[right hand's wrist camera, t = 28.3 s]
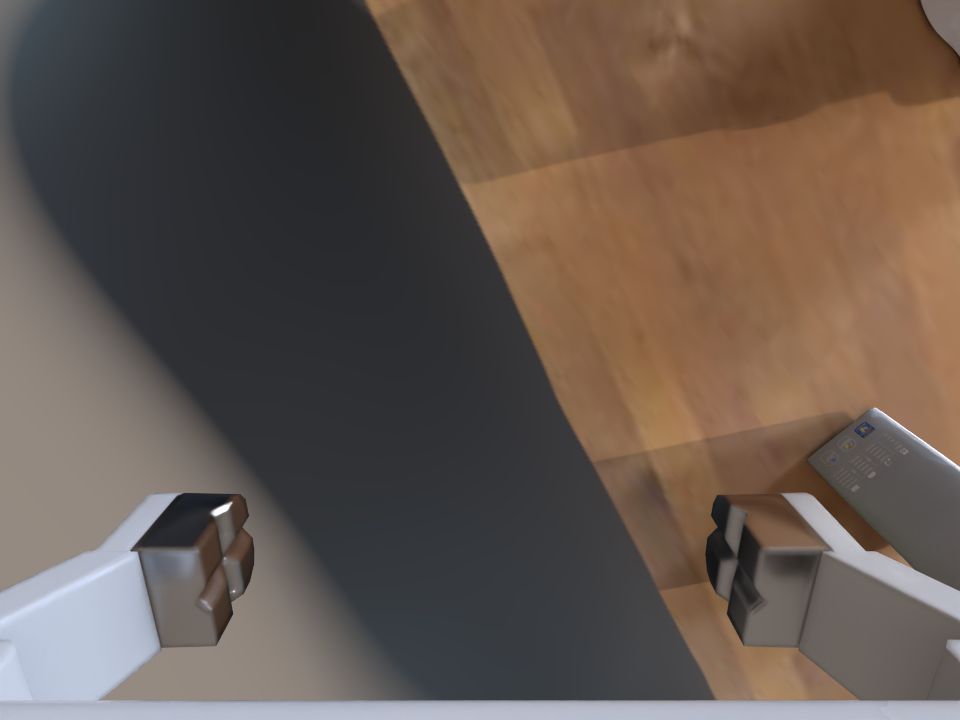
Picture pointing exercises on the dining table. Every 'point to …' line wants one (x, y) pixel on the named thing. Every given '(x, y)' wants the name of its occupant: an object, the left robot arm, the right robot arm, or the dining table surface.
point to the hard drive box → (898, 491)
